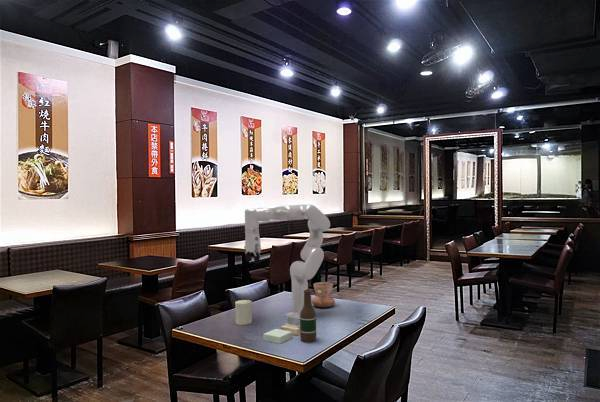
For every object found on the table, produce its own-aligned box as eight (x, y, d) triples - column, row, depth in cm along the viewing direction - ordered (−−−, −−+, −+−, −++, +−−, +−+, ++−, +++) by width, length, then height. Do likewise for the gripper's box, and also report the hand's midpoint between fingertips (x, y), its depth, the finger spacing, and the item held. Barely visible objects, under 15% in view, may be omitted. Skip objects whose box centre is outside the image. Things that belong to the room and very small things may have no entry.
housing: (291, 323, 226) (290, 311, 226) (303, 325, 221) (303, 313, 221) (285, 325, 222) (285, 314, 222) (298, 328, 217) (297, 316, 217)
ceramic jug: (330, 310, 262) (330, 287, 263) (307, 308, 268) (307, 285, 268) (338, 304, 279) (338, 282, 279) (317, 302, 285) (317, 280, 285)
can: (249, 325, 235) (248, 303, 235) (233, 324, 237) (232, 302, 237) (254, 320, 244) (253, 299, 244) (238, 319, 246) (238, 298, 246)
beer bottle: (299, 337, 211) (298, 288, 211) (315, 337, 212) (314, 288, 212) (301, 343, 203) (300, 292, 203) (317, 342, 204) (316, 291, 204)
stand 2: (292, 327, 229) (292, 321, 229) (308, 330, 223) (307, 324, 223) (280, 332, 220) (280, 326, 220) (296, 335, 215) (296, 329, 215)
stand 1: (276, 334, 217) (276, 328, 217) (292, 337, 211) (292, 331, 211) (263, 340, 209) (263, 333, 209) (279, 343, 203) (279, 337, 203)
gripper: (265, 231, 232) (266, 263, 232) (250, 230, 246) (251, 260, 246) (253, 232, 228) (254, 264, 228) (238, 230, 242) (239, 261, 242)
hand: (252, 262), depth 237 cm, fingers open, 9 cm apart
